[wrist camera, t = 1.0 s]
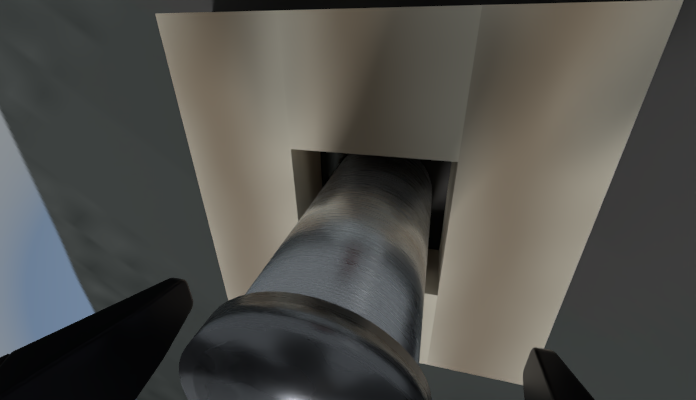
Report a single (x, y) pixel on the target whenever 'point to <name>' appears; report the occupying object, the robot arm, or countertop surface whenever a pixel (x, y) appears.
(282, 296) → the metal pin
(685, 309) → the countertop surface
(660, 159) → the countertop surface
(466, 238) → the socket block
